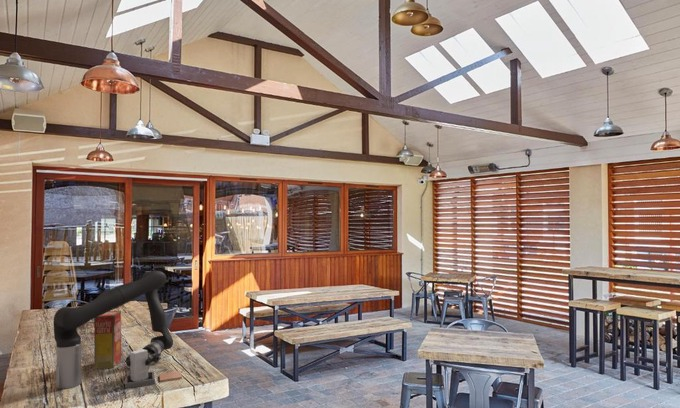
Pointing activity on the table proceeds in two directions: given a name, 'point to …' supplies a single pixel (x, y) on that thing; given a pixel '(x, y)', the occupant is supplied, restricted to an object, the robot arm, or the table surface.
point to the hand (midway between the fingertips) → (137, 363)
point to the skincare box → (138, 365)
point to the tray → (139, 383)
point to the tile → (170, 376)
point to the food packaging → (107, 340)
